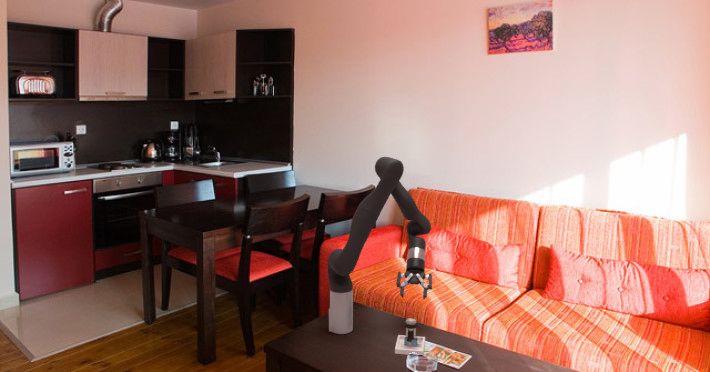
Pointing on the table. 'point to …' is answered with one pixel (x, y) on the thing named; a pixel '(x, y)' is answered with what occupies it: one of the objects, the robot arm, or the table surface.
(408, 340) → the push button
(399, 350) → the white button tray
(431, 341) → the table surface
